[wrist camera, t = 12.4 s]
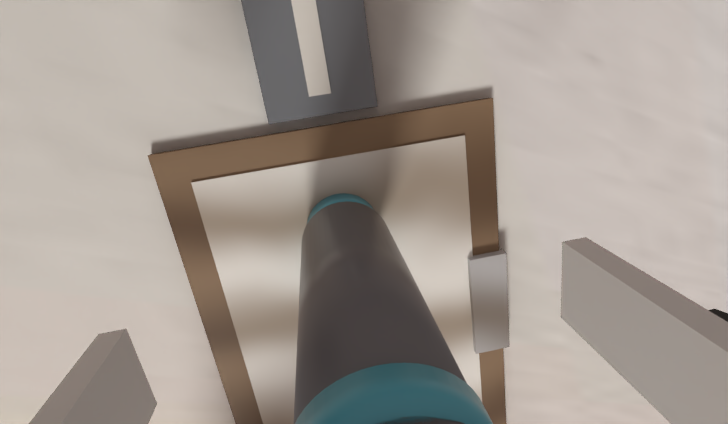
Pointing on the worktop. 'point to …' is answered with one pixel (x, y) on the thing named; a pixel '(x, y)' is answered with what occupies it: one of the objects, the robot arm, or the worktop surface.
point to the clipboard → (289, 218)
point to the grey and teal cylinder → (369, 330)
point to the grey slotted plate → (310, 56)
